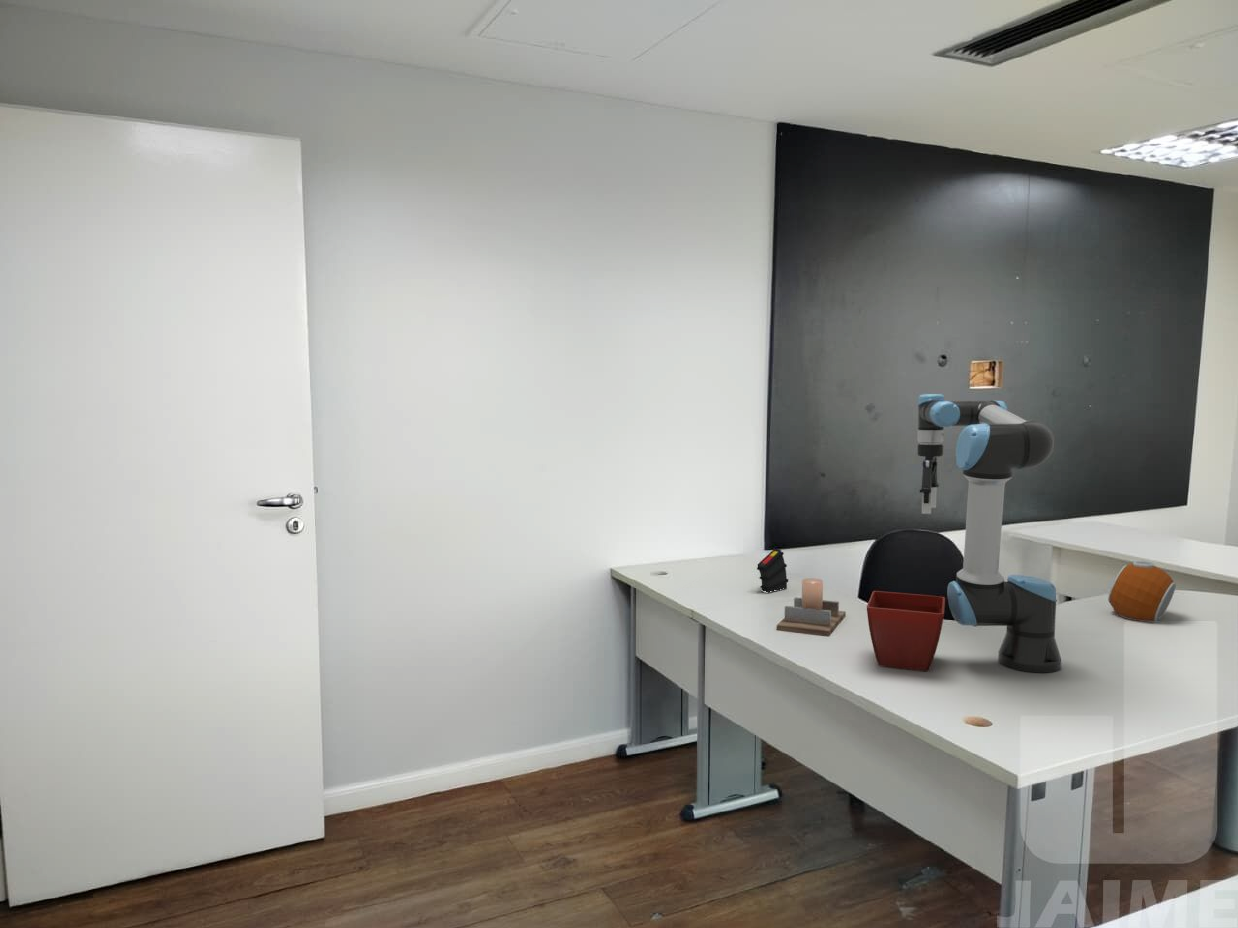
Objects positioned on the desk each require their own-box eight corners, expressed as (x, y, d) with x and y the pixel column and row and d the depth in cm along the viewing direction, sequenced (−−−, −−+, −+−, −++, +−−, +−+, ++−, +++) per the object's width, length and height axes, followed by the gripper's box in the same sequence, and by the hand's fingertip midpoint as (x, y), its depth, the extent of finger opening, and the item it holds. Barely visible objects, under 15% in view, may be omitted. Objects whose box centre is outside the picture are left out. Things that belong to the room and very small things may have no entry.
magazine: (793, 583, 313) (782, 549, 308) (772, 603, 306) (760, 569, 301) (785, 581, 316) (774, 547, 311) (764, 601, 309) (752, 568, 304)
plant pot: (944, 655, 234) (945, 595, 233) (942, 677, 217) (943, 613, 215) (872, 648, 242) (873, 590, 240) (865, 669, 224) (865, 606, 222)
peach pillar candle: (820, 621, 263) (820, 583, 262) (799, 619, 266) (799, 582, 265) (824, 616, 269) (824, 579, 268) (804, 614, 272) (804, 577, 270)
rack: (828, 636, 253) (829, 616, 253) (776, 629, 260) (776, 610, 260) (845, 616, 275) (845, 597, 274) (796, 610, 282) (796, 593, 281)
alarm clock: (1118, 605, 282) (1120, 554, 281) (1180, 615, 270) (1182, 561, 268) (1100, 617, 269) (1102, 563, 267) (1164, 627, 257) (1167, 571, 255)
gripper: (938, 446, 253) (937, 516, 255) (947, 441, 275) (945, 505, 277) (912, 446, 256) (911, 515, 258) (922, 440, 278) (921, 504, 280)
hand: (929, 510), depth 268 cm, fingers open, 13 cm apart
